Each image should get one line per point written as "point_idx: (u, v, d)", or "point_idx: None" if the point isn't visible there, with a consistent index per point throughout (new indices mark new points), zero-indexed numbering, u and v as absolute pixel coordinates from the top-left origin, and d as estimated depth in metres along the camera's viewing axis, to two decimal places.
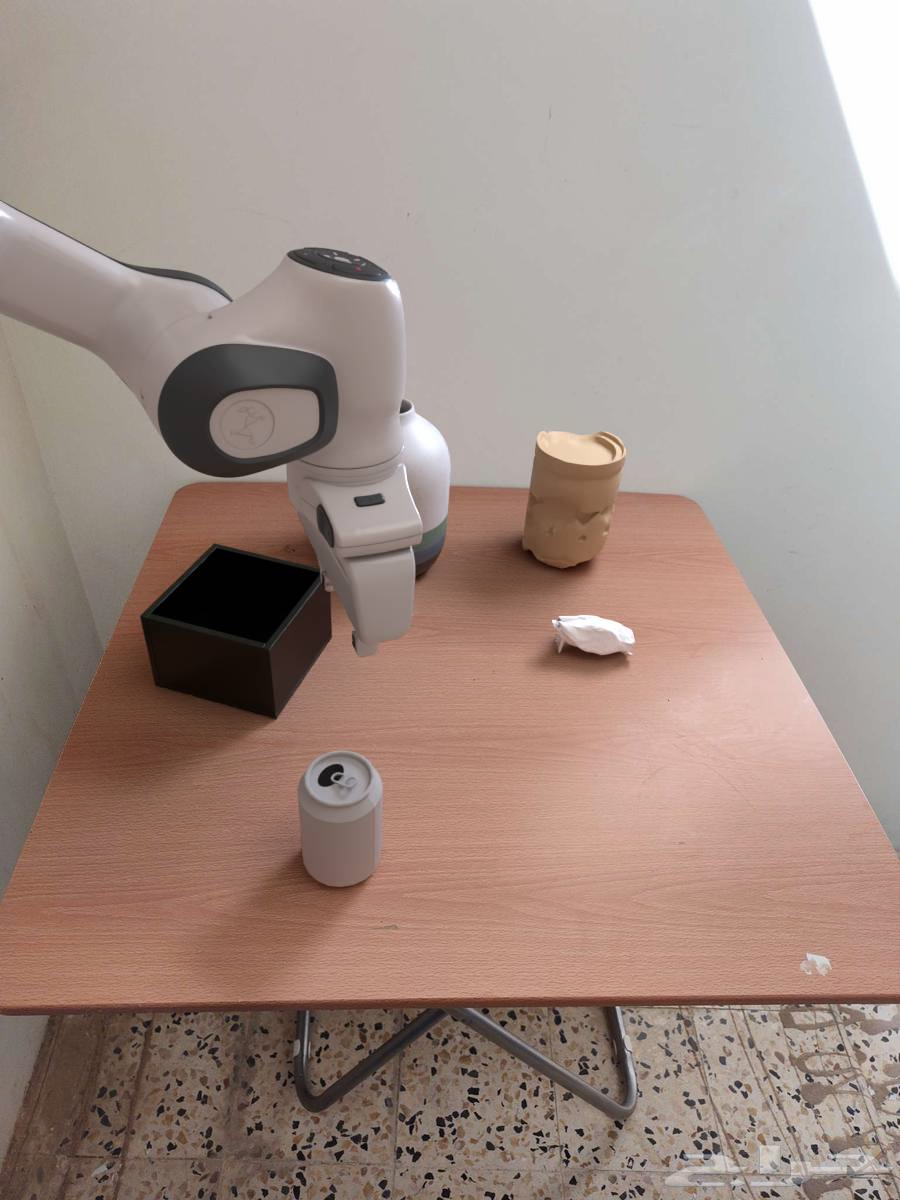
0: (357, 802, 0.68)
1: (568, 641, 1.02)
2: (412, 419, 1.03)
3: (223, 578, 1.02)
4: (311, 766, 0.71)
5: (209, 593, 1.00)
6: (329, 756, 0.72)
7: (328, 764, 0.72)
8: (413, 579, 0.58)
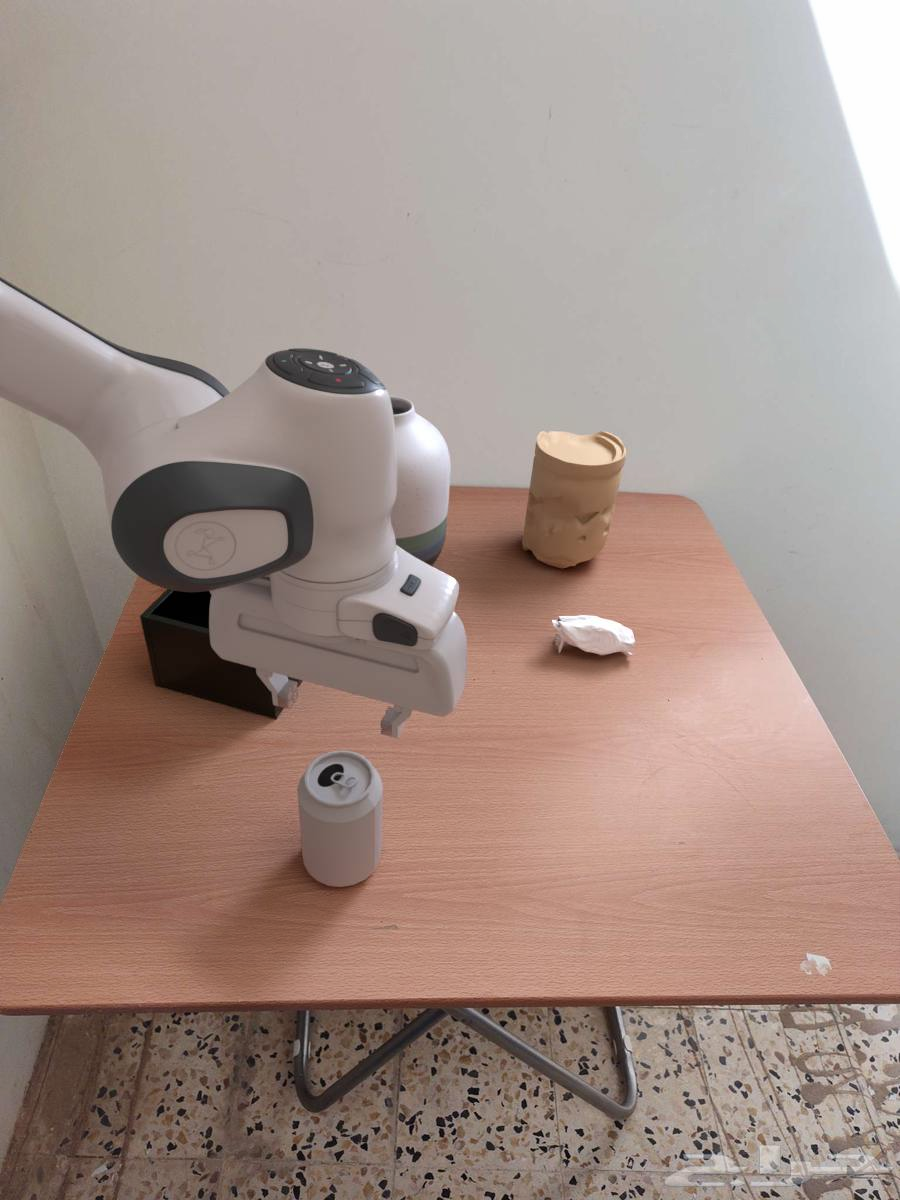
0: (357, 802, 0.68)
1: (568, 641, 1.02)
2: (412, 419, 1.03)
3: None
4: (311, 766, 0.71)
5: (209, 593, 1.00)
6: (329, 756, 0.72)
7: (328, 764, 0.72)
8: None
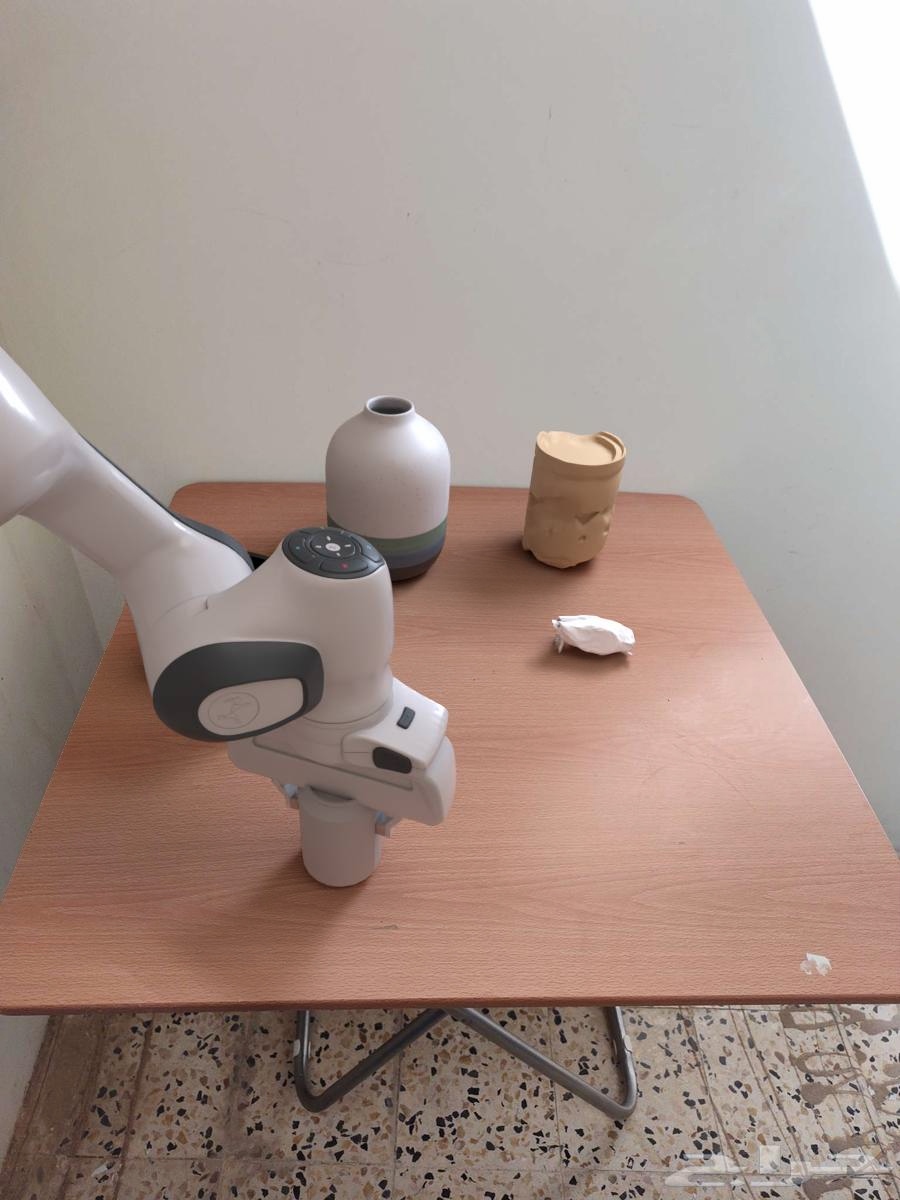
0: (357, 801, 0.68)
1: (568, 641, 1.02)
2: (412, 419, 1.03)
3: None
4: None
5: None
6: None
7: None
8: None
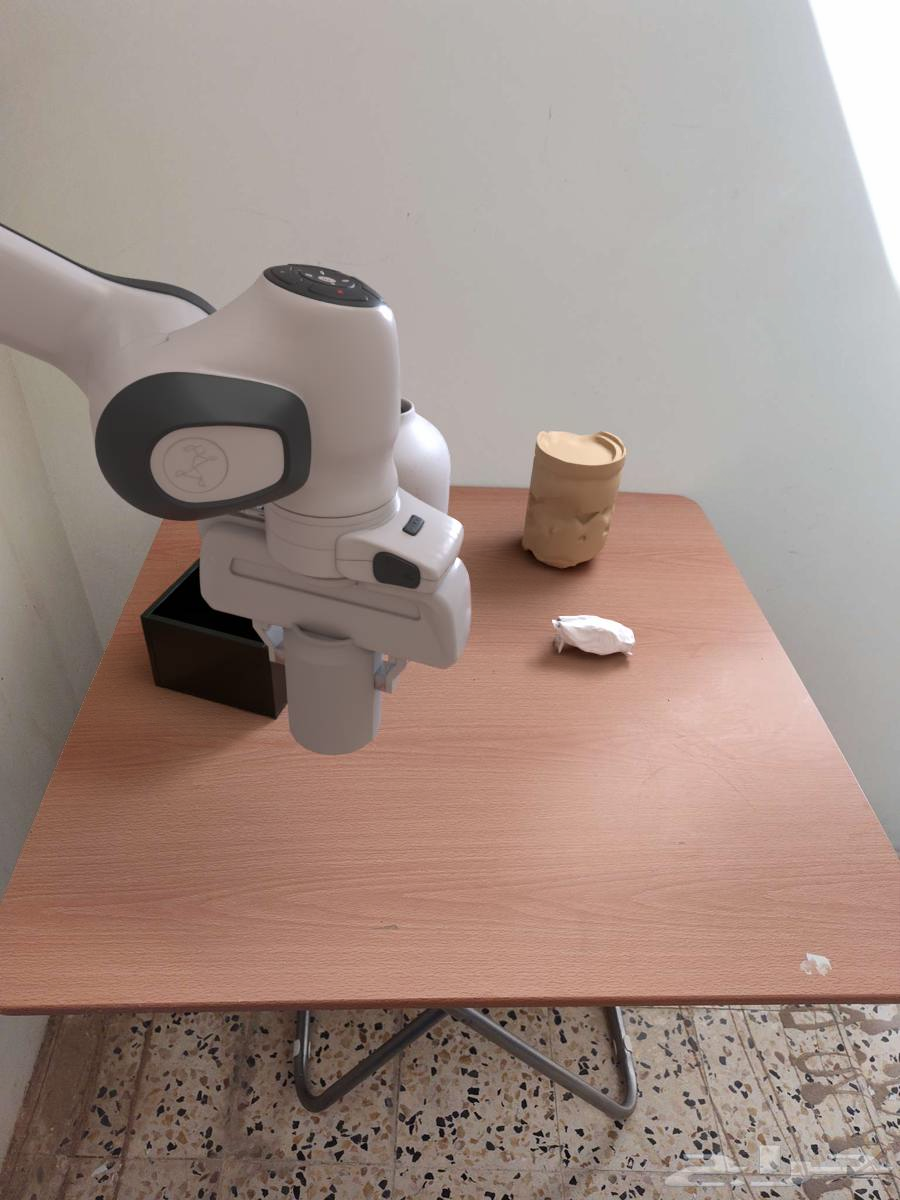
0: None
1: (568, 641, 1.02)
2: (412, 419, 1.03)
3: None
4: None
5: None
6: None
7: None
8: (469, 581, 0.56)
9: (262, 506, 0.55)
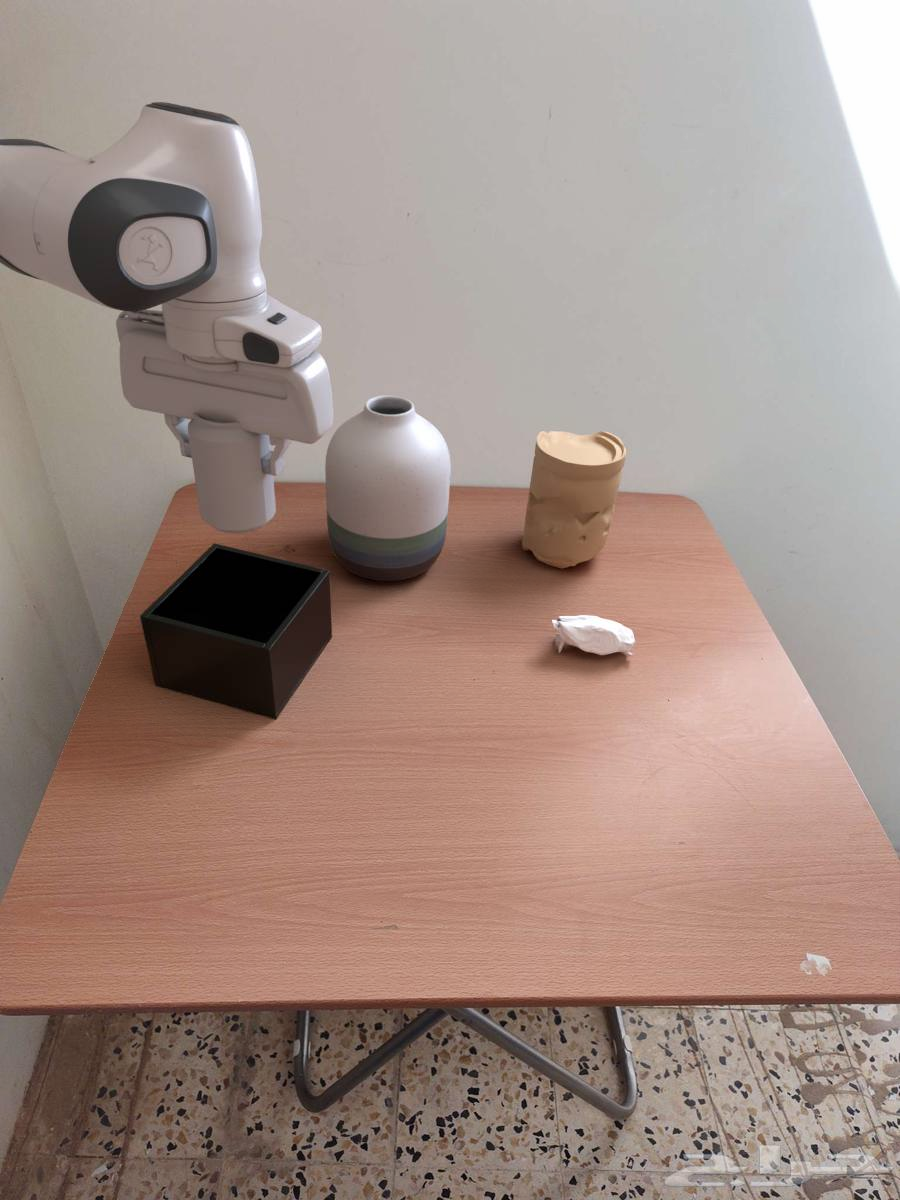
0: None
1: (568, 641, 1.02)
2: (412, 419, 1.03)
3: (223, 578, 1.02)
4: None
5: (209, 593, 1.00)
6: None
7: None
8: (328, 373, 0.72)
9: None
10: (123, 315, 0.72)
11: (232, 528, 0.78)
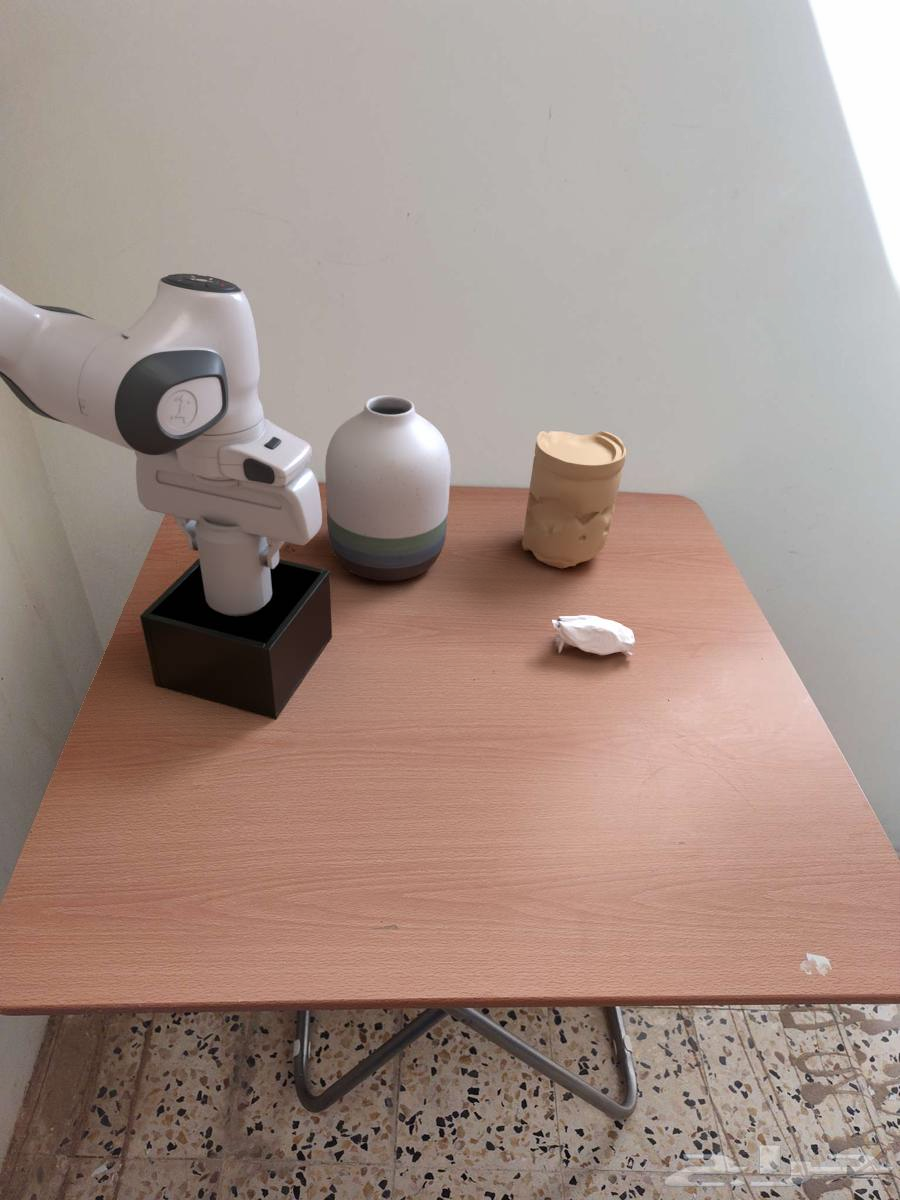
0: None
1: (568, 641, 1.02)
2: (412, 419, 1.03)
3: None
4: None
5: None
6: None
7: None
8: (317, 484, 0.83)
9: None
10: None
11: (234, 612, 0.89)
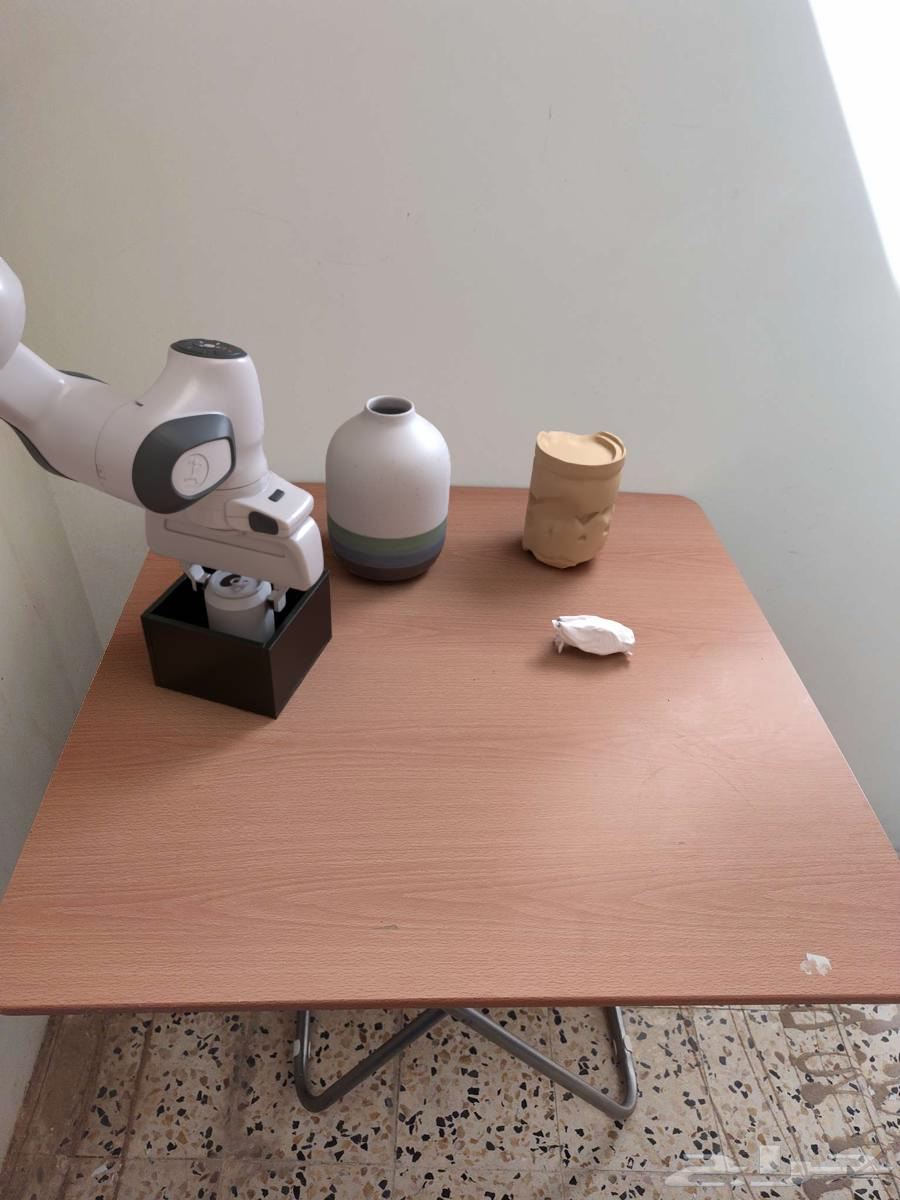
0: (248, 595, 0.89)
1: (568, 641, 1.02)
2: (412, 419, 1.03)
3: None
4: (215, 573, 0.92)
5: None
6: None
7: (229, 573, 0.93)
8: (319, 532, 0.86)
9: None
10: None
11: None
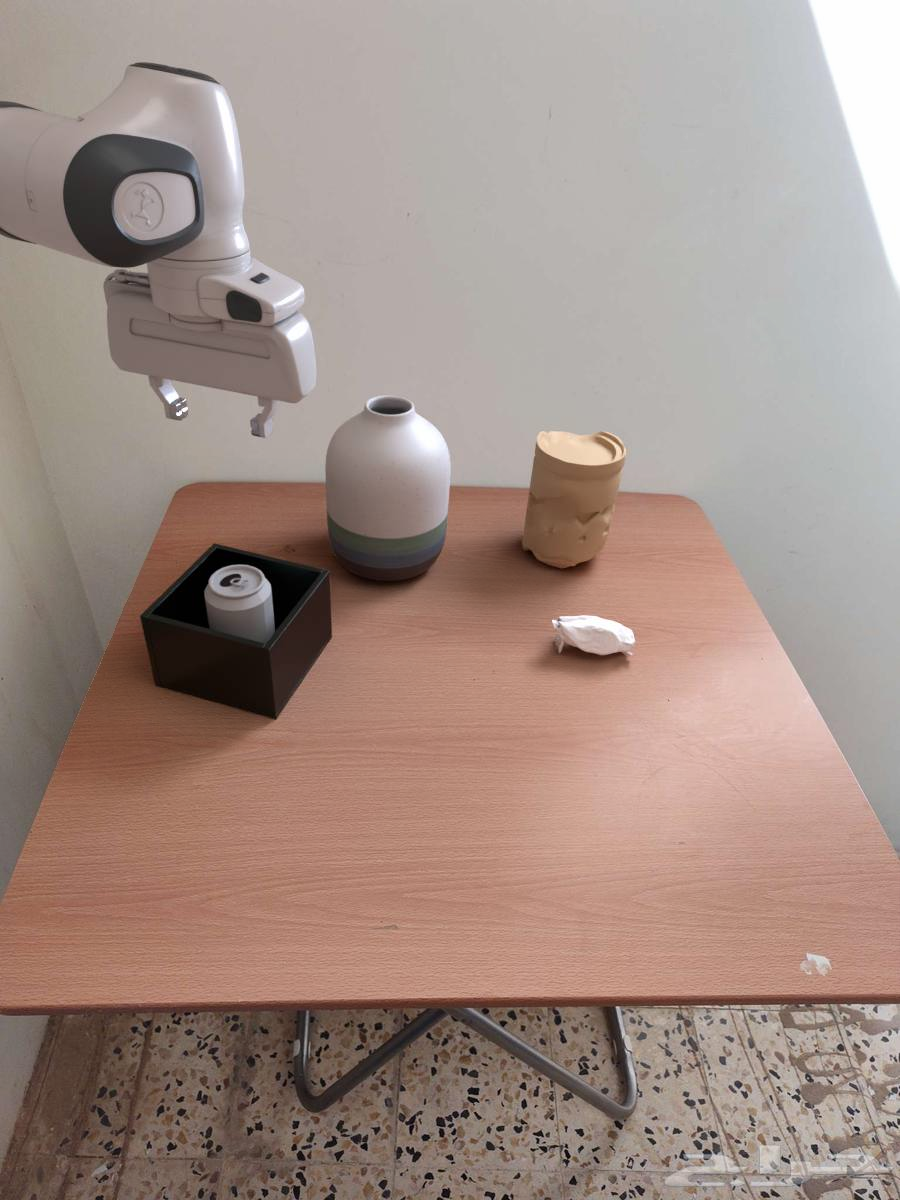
0: (248, 595, 0.89)
1: (568, 641, 1.02)
2: (412, 419, 1.03)
3: None
4: (215, 573, 0.92)
5: None
6: (230, 568, 0.93)
7: (229, 573, 0.93)
8: (311, 333, 0.73)
9: None
10: (110, 278, 0.74)
11: None
